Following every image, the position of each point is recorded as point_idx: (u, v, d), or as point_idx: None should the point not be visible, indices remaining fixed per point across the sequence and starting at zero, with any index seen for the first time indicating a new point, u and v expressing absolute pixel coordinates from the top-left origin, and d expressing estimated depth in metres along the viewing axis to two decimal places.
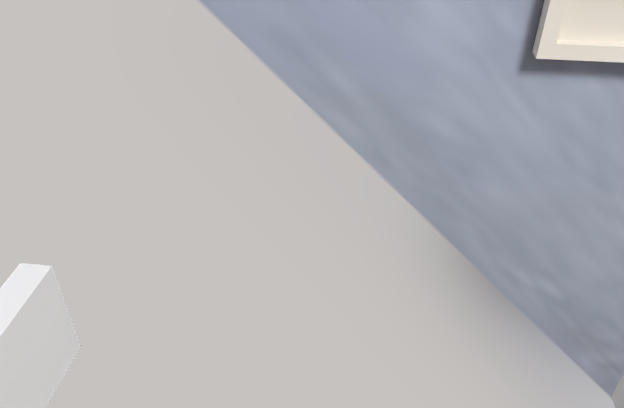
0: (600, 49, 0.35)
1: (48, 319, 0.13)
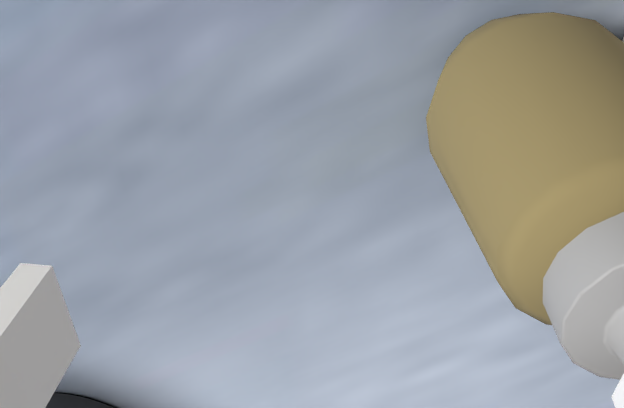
0: None
1: (48, 319, 0.13)
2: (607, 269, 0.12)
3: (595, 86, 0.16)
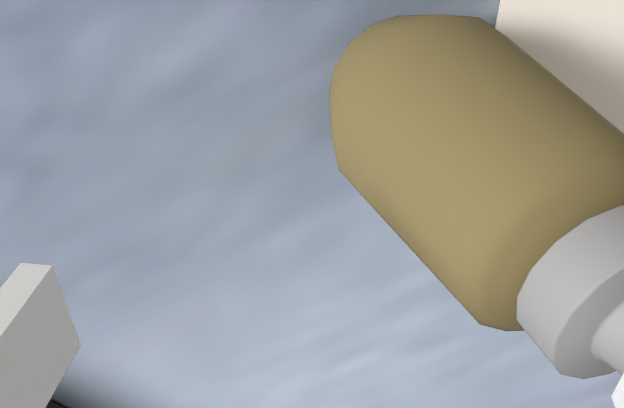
0: None
1: (48, 319, 0.13)
2: (593, 284, 0.12)
3: (516, 90, 0.16)
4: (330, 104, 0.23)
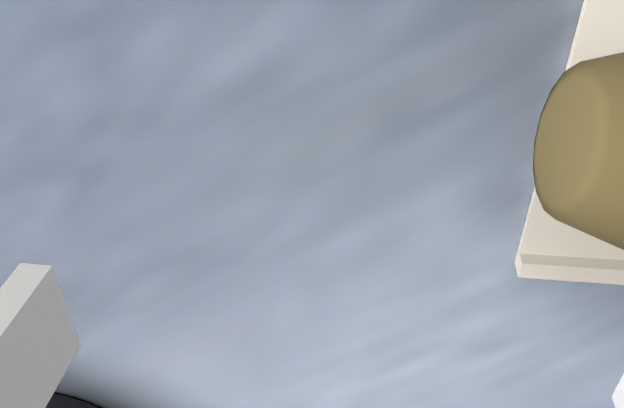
0: None
1: (48, 319, 0.13)
2: None
3: None
4: None
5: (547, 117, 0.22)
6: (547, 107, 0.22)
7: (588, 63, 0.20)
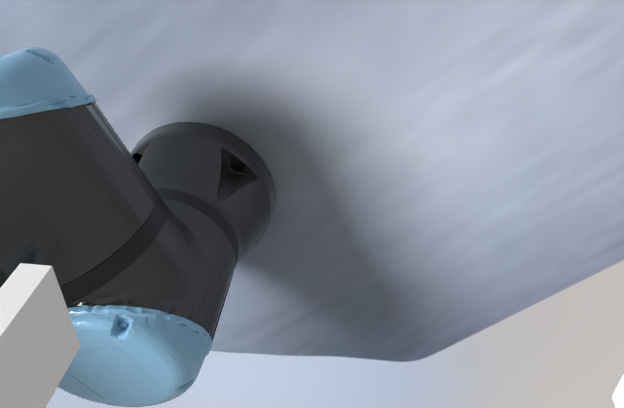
0: None
1: (48, 319, 0.13)
2: None
3: None
4: None
5: None
6: None
7: None
